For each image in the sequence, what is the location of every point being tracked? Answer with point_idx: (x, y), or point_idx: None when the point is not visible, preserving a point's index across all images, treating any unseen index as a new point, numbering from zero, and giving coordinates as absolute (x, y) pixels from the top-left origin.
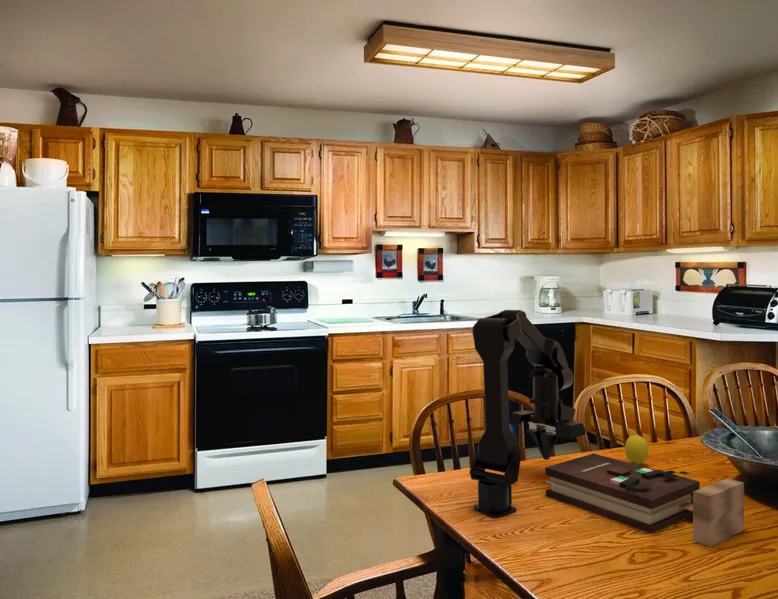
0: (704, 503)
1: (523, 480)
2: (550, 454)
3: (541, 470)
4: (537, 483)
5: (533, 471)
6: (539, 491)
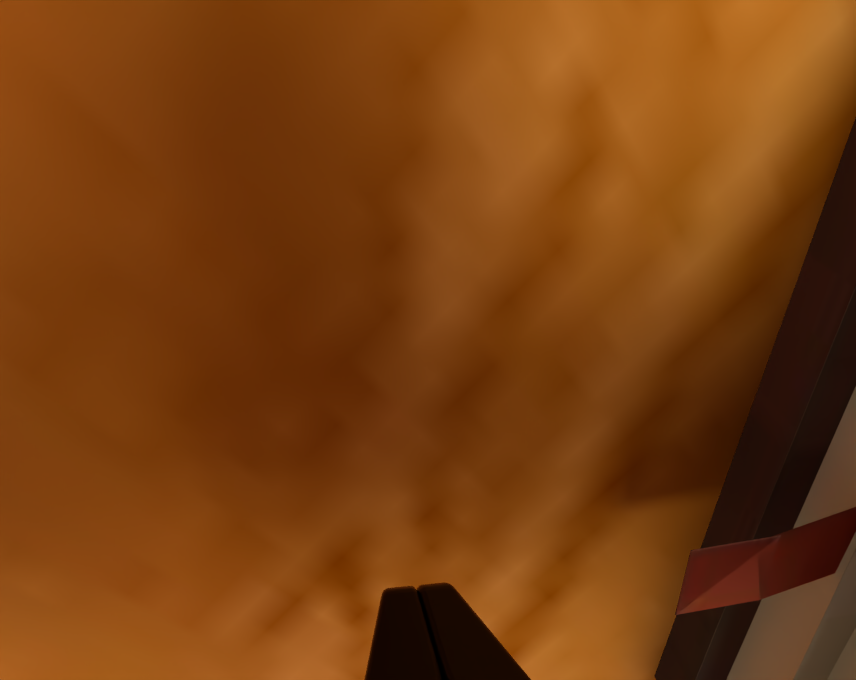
0: None
1: (246, 622)
2: (505, 659)
3: (32, 201)
4: (416, 572)
5: (9, 337)
6: (564, 663)
